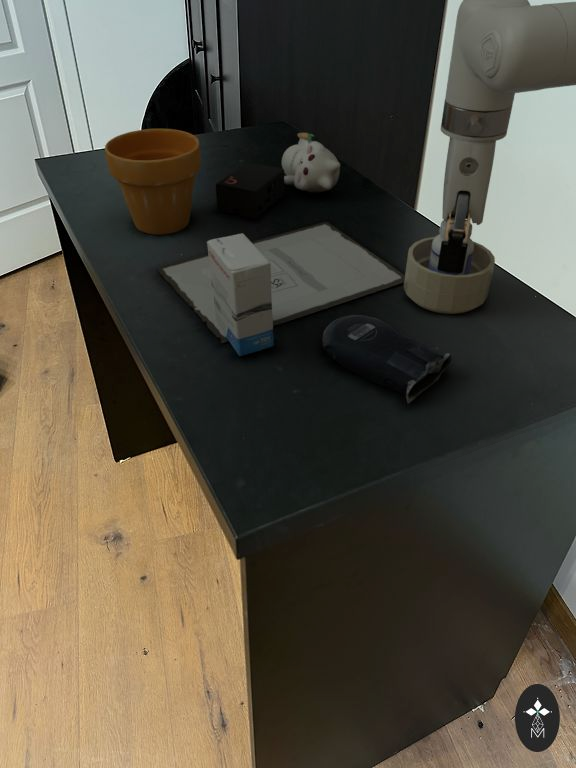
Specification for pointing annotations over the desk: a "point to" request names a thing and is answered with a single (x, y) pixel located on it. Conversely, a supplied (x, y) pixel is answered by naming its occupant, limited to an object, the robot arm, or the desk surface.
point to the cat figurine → (310, 166)
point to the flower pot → (156, 176)
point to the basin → (447, 280)
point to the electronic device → (250, 190)
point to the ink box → (241, 293)
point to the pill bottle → (437, 246)
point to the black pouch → (383, 354)
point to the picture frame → (293, 274)
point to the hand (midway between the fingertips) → (450, 257)
